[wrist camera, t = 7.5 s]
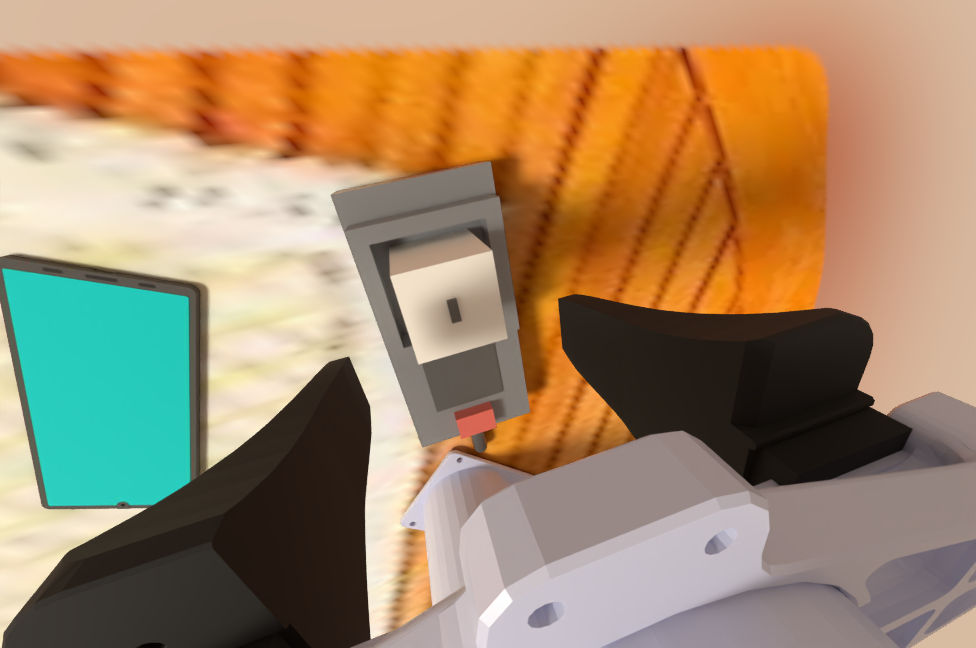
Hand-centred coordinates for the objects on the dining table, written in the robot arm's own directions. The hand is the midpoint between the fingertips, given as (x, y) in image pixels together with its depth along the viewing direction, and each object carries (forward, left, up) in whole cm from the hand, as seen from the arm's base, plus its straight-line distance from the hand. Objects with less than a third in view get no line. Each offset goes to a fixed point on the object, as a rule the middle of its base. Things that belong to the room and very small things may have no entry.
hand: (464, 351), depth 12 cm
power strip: (-3, +3, -10) cm, 11 cm away
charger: (0, 0, -8) cm, 8 cm away
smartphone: (+11, +15, -10) cm, 21 cm away
